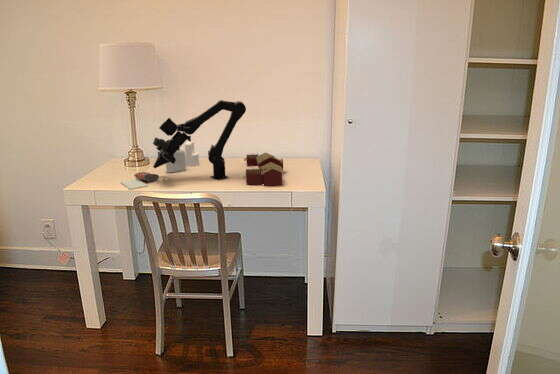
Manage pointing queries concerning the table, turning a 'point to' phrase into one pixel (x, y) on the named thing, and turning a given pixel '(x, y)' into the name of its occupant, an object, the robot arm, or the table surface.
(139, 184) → the mat
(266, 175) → the toy houses
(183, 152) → the photo printer
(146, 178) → the lighter
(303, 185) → the table surface
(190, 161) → the base with upright slab
